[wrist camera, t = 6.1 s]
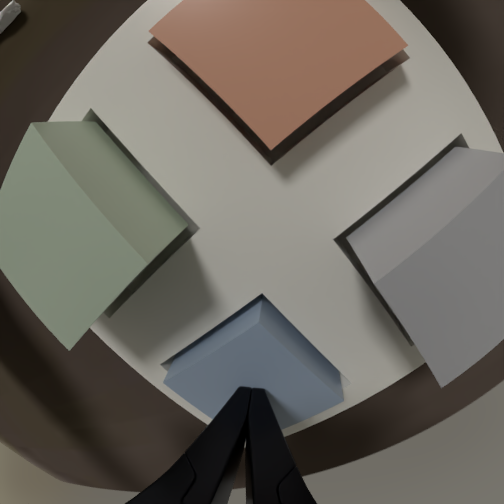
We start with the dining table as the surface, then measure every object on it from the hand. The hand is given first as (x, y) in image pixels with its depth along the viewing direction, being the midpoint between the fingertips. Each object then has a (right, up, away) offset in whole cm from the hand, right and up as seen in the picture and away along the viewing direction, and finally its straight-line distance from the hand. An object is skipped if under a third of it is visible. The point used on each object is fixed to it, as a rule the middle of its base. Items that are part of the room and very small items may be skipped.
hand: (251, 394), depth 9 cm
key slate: (0, +1, +3) cm, 3 cm away
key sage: (-5, +6, -1) cm, 8 cm away
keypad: (+1, +6, +2) cm, 7 cm away
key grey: (+6, +5, -1) cm, 8 cm away
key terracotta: (+1, +11, -1) cm, 11 cm away
